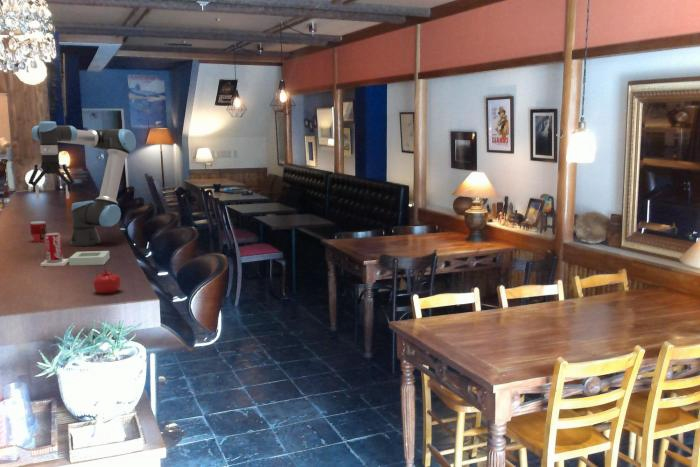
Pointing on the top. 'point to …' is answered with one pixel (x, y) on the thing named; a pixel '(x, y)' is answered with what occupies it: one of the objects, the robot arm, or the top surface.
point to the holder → (89, 258)
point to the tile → (55, 263)
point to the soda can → (53, 247)
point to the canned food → (38, 231)
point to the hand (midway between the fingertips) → (52, 198)
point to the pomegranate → (107, 282)
